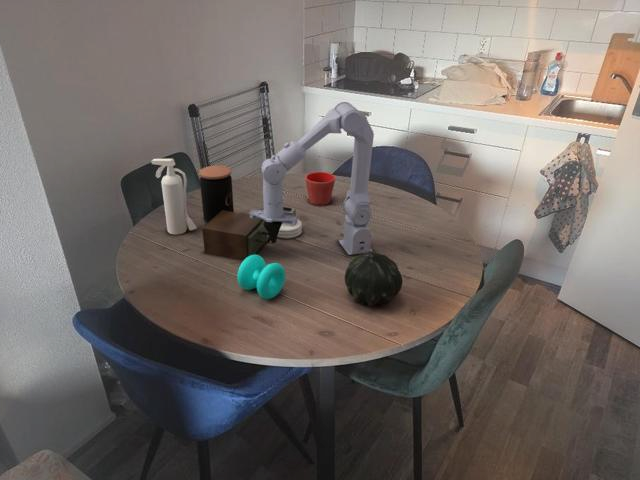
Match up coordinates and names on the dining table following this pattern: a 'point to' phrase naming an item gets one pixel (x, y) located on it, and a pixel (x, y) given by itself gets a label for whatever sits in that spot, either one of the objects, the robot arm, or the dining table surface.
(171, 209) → the fire extinguisher
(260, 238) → the drawer
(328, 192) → the flower pot
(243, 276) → the teal yo-yo
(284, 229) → the white ridged disc
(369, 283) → the squash
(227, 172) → the coffee jar
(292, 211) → the cube with black handle
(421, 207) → the dining table surface
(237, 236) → the cabinet
